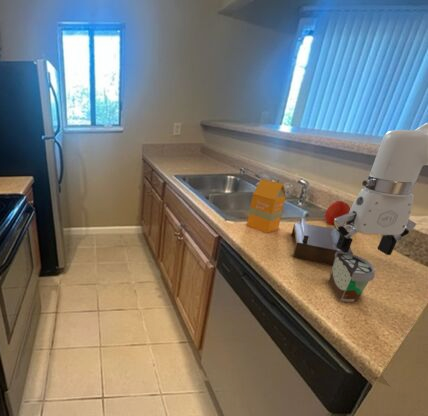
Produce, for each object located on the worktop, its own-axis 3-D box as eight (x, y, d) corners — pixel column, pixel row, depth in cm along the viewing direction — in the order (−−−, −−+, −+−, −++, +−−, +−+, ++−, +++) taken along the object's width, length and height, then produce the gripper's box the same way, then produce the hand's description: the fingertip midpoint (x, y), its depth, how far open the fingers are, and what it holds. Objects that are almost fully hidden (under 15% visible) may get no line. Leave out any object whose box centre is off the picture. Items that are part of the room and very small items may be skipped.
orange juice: (257, 222, 118) (267, 177, 111) (278, 230, 111) (289, 182, 104) (246, 226, 115) (255, 180, 108) (266, 234, 108) (277, 185, 100)
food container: (373, 313, 67) (388, 279, 64) (342, 306, 69) (354, 273, 66) (352, 284, 78) (364, 253, 74) (326, 279, 80) (336, 249, 76)
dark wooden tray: (336, 244, 99) (343, 223, 96) (346, 270, 84) (355, 246, 81) (290, 235, 106) (296, 215, 103) (292, 258, 91) (298, 235, 88)
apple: (352, 228, 111) (361, 203, 108) (331, 228, 112) (339, 204, 108) (336, 220, 119) (344, 197, 115) (317, 220, 119) (324, 197, 116)
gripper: (359, 189, 60) (335, 256, 66) (448, 192, 58) (414, 261, 65) (336, 180, 67) (316, 242, 73) (414, 182, 65) (387, 245, 72)
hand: (362, 251), depth 69 cm, fingers open, 9 cm apart
